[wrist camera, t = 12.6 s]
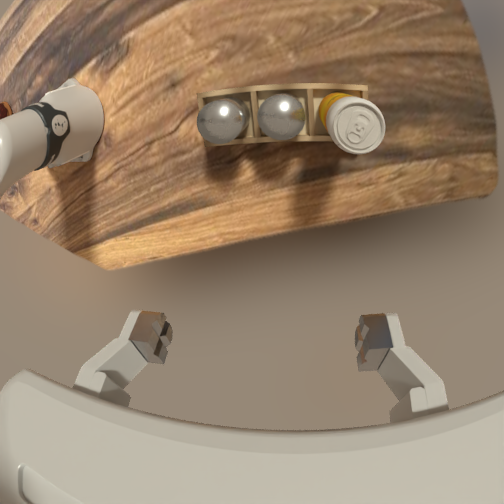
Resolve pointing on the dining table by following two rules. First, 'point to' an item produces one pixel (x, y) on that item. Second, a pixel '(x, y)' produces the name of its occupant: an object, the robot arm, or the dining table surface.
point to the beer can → (352, 122)
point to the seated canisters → (238, 117)
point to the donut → (5, 110)
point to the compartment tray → (257, 95)
